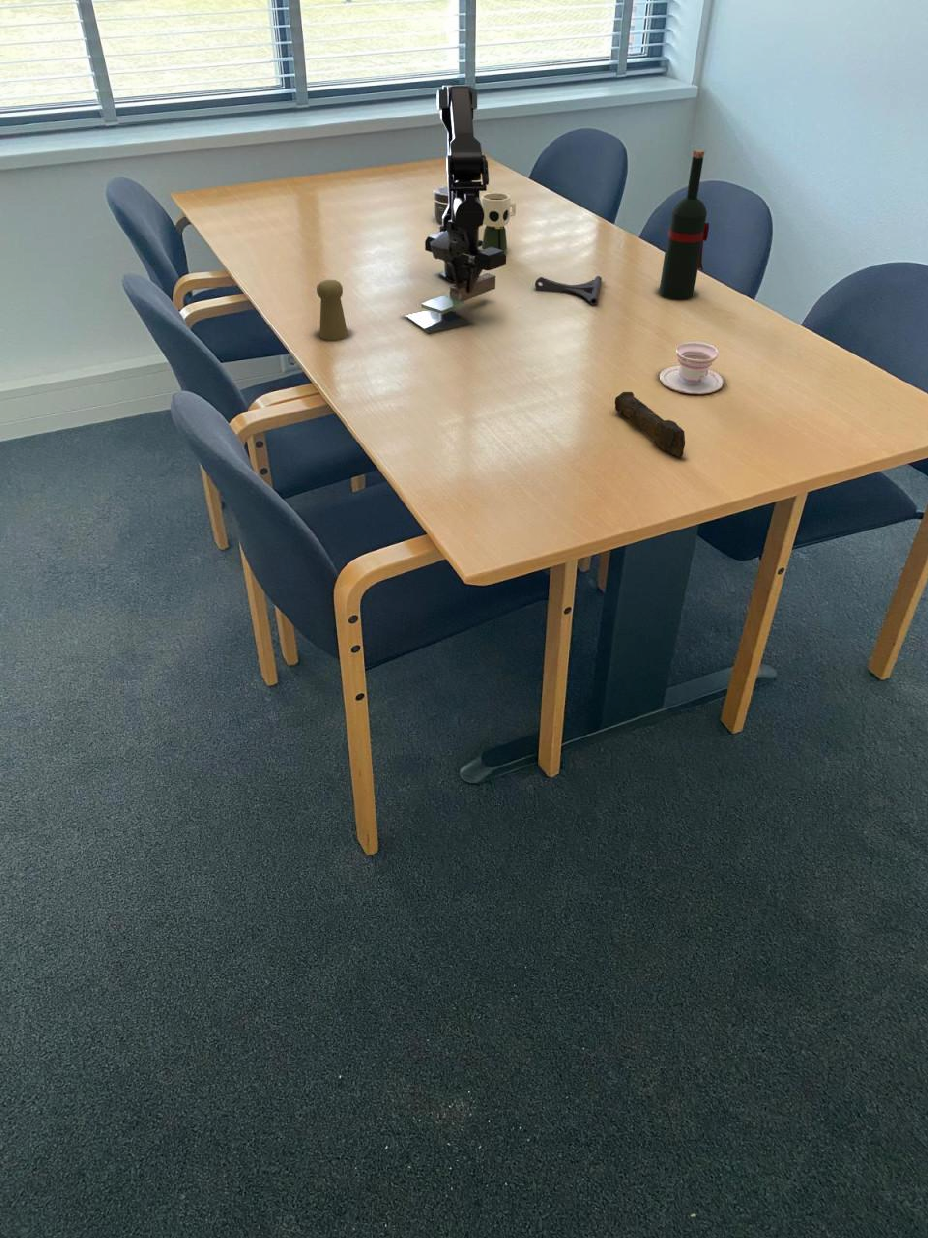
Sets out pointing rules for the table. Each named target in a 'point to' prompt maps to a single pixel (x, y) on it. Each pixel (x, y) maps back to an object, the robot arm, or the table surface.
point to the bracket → (573, 288)
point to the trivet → (437, 321)
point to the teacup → (693, 370)
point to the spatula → (460, 295)
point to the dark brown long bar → (652, 423)
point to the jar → (440, 202)
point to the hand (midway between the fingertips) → (464, 290)
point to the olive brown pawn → (331, 311)
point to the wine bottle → (685, 240)
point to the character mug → (496, 219)
